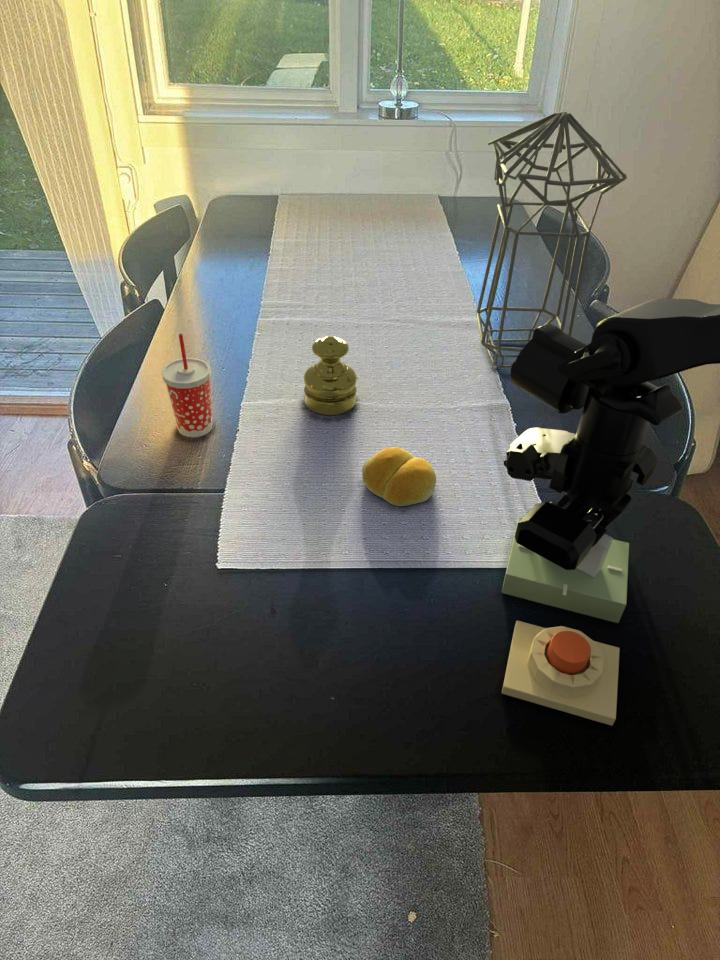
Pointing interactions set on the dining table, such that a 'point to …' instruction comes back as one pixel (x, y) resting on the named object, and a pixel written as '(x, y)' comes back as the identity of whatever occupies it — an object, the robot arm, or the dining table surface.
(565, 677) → the button box
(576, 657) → the button
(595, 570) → the white switch lever
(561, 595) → the panel
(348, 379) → the gold tiered piece
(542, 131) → the geometric lantern
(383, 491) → the bread roll
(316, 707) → the dining table surface
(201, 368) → the beverage cup
